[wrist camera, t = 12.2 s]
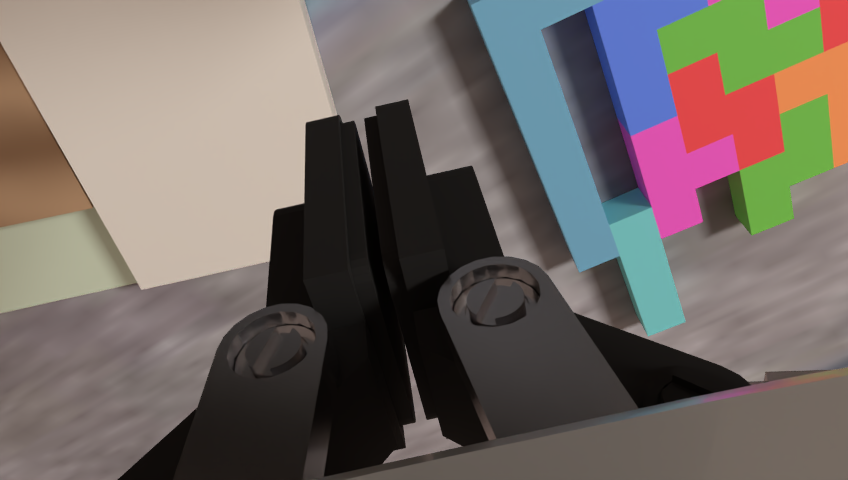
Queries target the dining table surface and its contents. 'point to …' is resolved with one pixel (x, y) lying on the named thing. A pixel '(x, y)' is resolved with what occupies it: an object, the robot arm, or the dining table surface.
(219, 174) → the board
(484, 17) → the tetris game
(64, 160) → the tile
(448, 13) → the dining table surface
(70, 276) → the mat
